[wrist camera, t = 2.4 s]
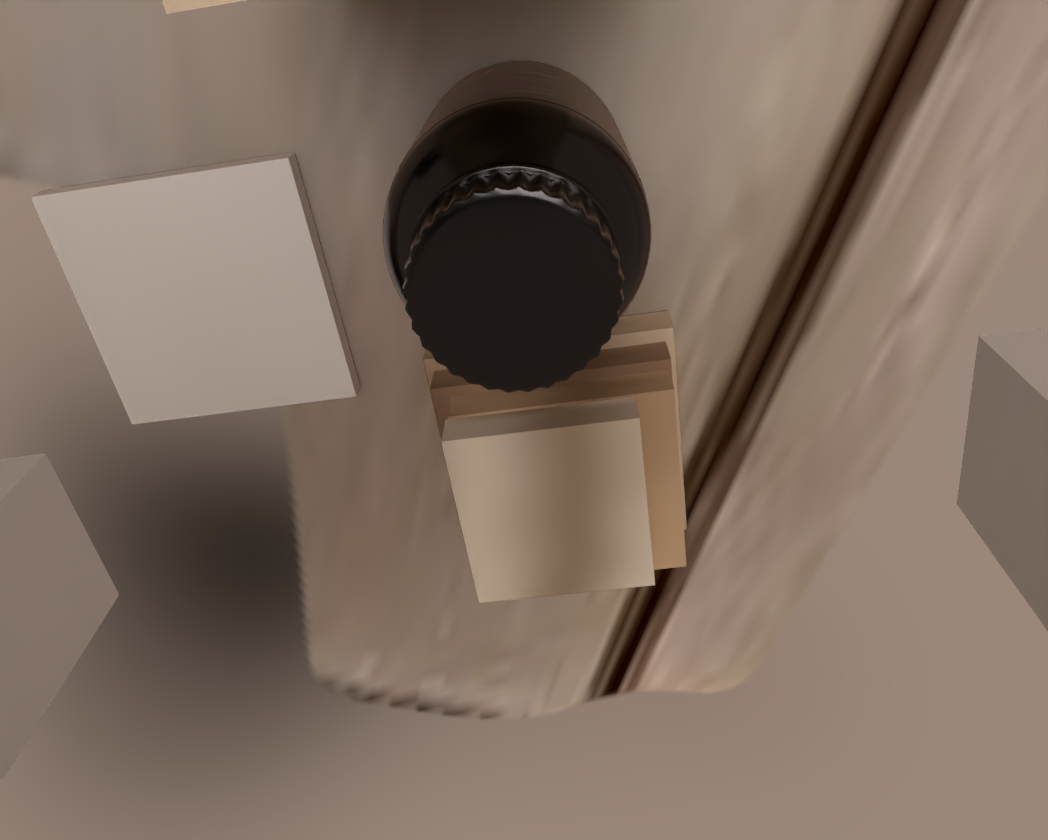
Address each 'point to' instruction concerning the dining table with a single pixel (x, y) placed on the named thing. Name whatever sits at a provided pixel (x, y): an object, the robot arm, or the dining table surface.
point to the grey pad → (203, 288)
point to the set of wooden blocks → (566, 465)
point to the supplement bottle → (517, 227)
